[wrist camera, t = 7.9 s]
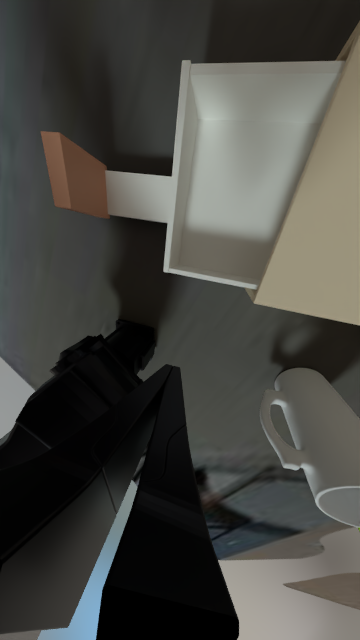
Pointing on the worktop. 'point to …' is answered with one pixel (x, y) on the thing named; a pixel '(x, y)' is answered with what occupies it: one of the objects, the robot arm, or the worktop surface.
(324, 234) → the cream cardboard box
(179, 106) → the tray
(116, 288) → the worktop surface
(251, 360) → the worktop surface
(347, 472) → the mug
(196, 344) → the worktop surface
